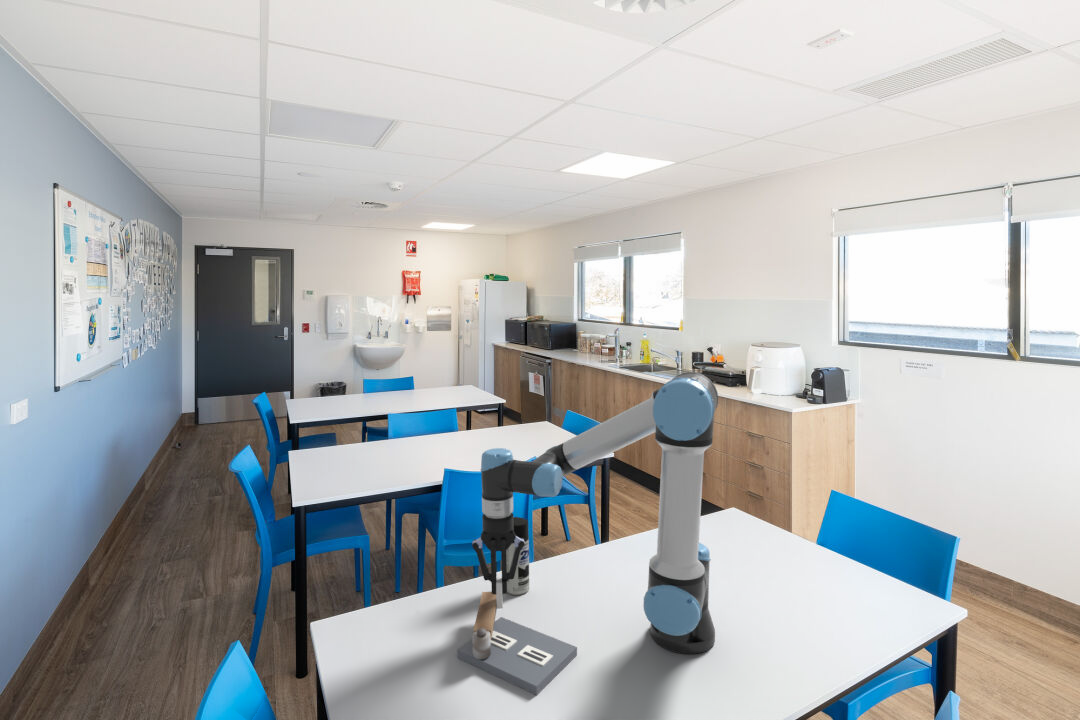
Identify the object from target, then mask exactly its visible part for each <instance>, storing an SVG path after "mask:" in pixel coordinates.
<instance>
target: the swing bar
mask: <svg viewBox="0 0 1080 720" xmlns="http://www.w3.org/2000/svg"><path fill="white" fill-rule="evenodd" d="M480 596H481V597H480V600H479V605H478V610H477V614H476V618H475V623H474V626H473V632H472V637H471V639H472V643H473V656H474V657H475V658H477V659H485V658H487V657H489V656H490V654H491V639H492V633H493V627H494V622H495V621H496V617H497V616H496V615H497V598H496V594H492V591H482V593H481V595H480Z"/></svg>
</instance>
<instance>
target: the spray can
mask: <svg viewBox="0 0 1080 720" xmlns="http://www.w3.org/2000/svg"><path fill="white" fill-rule="evenodd" d="M513 522H514V531H515V533H516V536H517V537H519V538H523V539H524V546H523V548H522V549H521V551H520V555H519V559H518V563H517V567H516V571H515V576H514V579H509V580H508V581H507V593H508V594H509V595H514V596H522V595H525V594H526V593H528V592H529V590H530V544H529V543H530V542H529V540H530V538H529V520H528V519H527V518H523V517H519V516H513ZM514 543H515V541H513V543H512V544H511V545H510V547H509V548H508V549H507V550H506V560H507V572H509V571H510V566H511V562H512V558H513V554H514V549H515V545H514Z"/></svg>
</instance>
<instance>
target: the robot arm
mask: <svg viewBox="0 0 1080 720" xmlns="http://www.w3.org/2000/svg"><path fill="white" fill-rule="evenodd" d="M718 404H719V393H718V389H717V388H716V386H715V384H714V383H713V382H712V380H711V379H710V378H708V377H707V376H705V375H704V374H701V373H700V372H692V371H690V372H689V371H688V372H682V373H680V374H677V375H676V376H675V377H673V378H672V379H671V380H669V381H667V382H666V383H665V384H664V385H662V386H661V387H660V388H658V389H657V390H654V391H652V392H651V396H650V398H648V399H646V400H644V401H641V402H640V403H639V404H637V405H634V406H632V407H631V408H628V409H626V410H624V411H622V412H621V413H619V414H617V415H615V416H613V417H611V418H608V419H606V420H605V421H602V422H601V423H599V424H597V425H594V426H593V427H591V428H589V429H587V430H586V431H584V432H581V433H580V434H577V435H575V436H573V437H571V438H570V439H568V440H565V441H564V442H562V443H561V444H560V443H559V444H558V445H555V446H552V447H550V448H548V449H546V450H545V452H544V453H542V454H541V455H540V456H538V457H536V458H535V459H534V460H531V461H526V460H517V459H514V456H513V452H512V450H510V449H506V448H499V447H496V448H490V449H487V450H485V451H483V453H482V454H481V464H480V474H481V510H482V513H483V514H482V516H481V517H482V518H481V519H482V520H481V521H482V531H481V534H480V537H479V538H477V539H473V540H472V545H471V548H472V549H473V550H474V552H475V553H476V555H477V559H478V563H479V566H480V570H481V572H482V577H483V580H484V581H488V582H489V581H490V584H491V592H492V594H496V598H497V609H504V608H503V600H504V599H503V594H504V595H505V594H506V595H507V593H508V592H507V581H508V580H509V579H514V576H515V571H516V567H517V563H518V559H519V555H520V551H521V549H522V548H523V546H524V539H523V538H519V537H517V536H516V533H515V531H514V522H513V517H514V513H513V512H514V493H517V494H522V495H523V494H524V495H530V496H531V495H532V496H539V497H543V498H544V497H557V495H559V493H560V491H561V489H562V486H563V477H565V476H568V475H569V474H571V473H573V472H575V471H577V470H579V469H581V468H583V467H586V466H587V465H589V464H591V463H594V462H596V461H598V460H601V458H604V457H606V456H608V455H610V454H612V453H614V452H617V451H619V450H621V449H623V448H625V447H626V446H629V445H631V444H633V443H635V442H638V441H639V440H642V439H643V438H646V437H648V436H649V435H652V434H654V433H655V436H654V437H655V438H654V440H655V442H656V443H657V444H658V445H659V446H660V447H661V459H660V460H661V462H660V463H661V465H660V481H659V482H660V484H659V502H658V503H659V504H658V506H659V507H658V521H657V522H658V525H657V543H656V544H657V545H656V546H657V547H656V554H655V555H653V556H651V557H650V559H649V563H648V581H647V583H648V584H647V591H646V592H645V594H644V596H643V611H644V614H645V616H646V618H647V620H648V621H649V623H650V630H649V631H650V636H651V638H652V640H654V642H655V643H656V644H658V645H659V646H661V647H662V648H663V649H666V650H668V651H671V652H673V653H677V654H678V653H679V654H684V655H695V654H702V653H704V652H707V651H709V650H711V649H712V647H713V646H714V645H715V641H716V630H715V629H716V628H715V626H714V622H713V620H712V616H711V613H710V609H709V592H710V590H709V589H710V588H709V587H710V585H709V584H710V562H711V558H710V550H709V547H707V546H706V545H705V544H703V543H700V541H699V540H700V532H701V531H700V529H701V528H700V526H701V514H702V513H701V511H702V493H703V477H704V475H703V474H704V461H705V460H704V459H705V451H707V450H709V448H710V447H712V445H713V438H714V423H715V412H716V410H717V407H718ZM513 541H515V543H514V545H515V549H514V554H513V558H512V562H511V566H510V571H509V572H507V560H506V550H507V549H508V548H509V547H510V545H511V544H512V543H513ZM483 544H484V545H485V546H486V548H487V549H488V550H489V551H490V571H489V568H488V564H487V561H486V557H485V553H484V551H483ZM497 552H500V553H501V556H500V557H501V558H500V559H501V561H500V562H501V577H497V574H498V573H497Z"/></svg>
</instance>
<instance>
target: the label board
mask: <svg viewBox="0 0 1080 720" xmlns="http://www.w3.org/2000/svg"><path fill="white" fill-rule="evenodd" d="M456 652H457V653H456V654H457V659H460V660H461V661H464V662H465V663H467V664H470V665H472V666H474V667H476V668H479V669H480V670H483V671H485V672H486V673H489V674H491V675H493V676H495V677H497V678H498V679H499V678H500V679H502V680H504V681H505V682H508V683H510V684H512V685H514V686H515V687H518V688H520V689H522V690H525V691H526V692H528V693H531V694H533V695H535V696H538V695H539V694H540V693H541V691H543V690H544V689H545V688H546V687H547V686H548V685H549V684H550V683H551V682H552V681H553V680H554V679H555V677H557V676H558V675H559V674H560V673H561V672H562V671H563V670H564V669H565V668H566V667H567V666H568V665H569V664H570V663H572V661H573V660H574V659H575V658H576V657H577V656H578V646H576V645H572V644H570V643H569V642H568V643H567V642H565V641H562V640H560V639H558V638H555V637H552V636H550V635H548V634H546V633H545V634H544V633H542V632H540V631H537V630H535V629H532V628H531V627H530V628H529V627H528V626H525V625H522V624H521V623H520V624H519V623H517V622H515V621H513V620H510V619H507V618H505V617H502V616H501V617H499V618H498V619H497V620H496V619H495V622H494V627H493V633H492V639H491V654H490V656H489V657H487V658H485V659H477V658H475V657H474V656H473V643H472V638H470V639H469V640H467V641H466V642H465V643H464V644H463V645H461V646H460V647H459V648H457V649H456Z"/></svg>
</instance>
